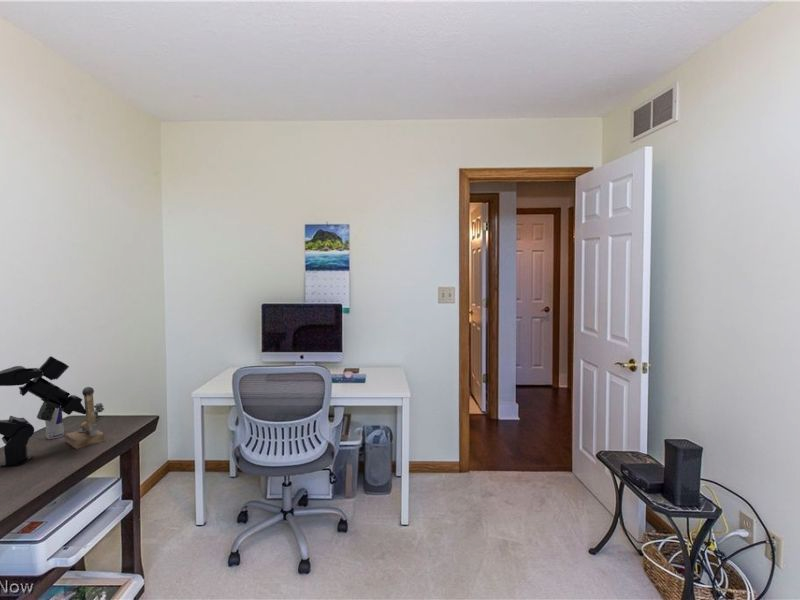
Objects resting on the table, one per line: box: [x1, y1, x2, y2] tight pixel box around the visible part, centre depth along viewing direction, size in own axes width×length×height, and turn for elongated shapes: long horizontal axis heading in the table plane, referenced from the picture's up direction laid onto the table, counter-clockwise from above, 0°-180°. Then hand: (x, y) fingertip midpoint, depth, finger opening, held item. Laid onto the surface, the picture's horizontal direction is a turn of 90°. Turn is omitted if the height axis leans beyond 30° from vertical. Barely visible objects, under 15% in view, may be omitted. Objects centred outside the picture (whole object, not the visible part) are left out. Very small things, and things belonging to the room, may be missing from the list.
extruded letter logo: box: [94, 402, 105, 422], centre depth 198 cm, size 25×2×6 cm, turn 20°
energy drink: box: [44, 407, 65, 440], centre depth 179 cm, size 5×5×12 cm
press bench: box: [64, 420, 105, 450], centre depth 173 cm, size 9×12×7 cm
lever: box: [81, 386, 96, 431], centre depth 172 cm, size 4×4×17 cm
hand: (85, 413), depth 171 cm, fingers closed
